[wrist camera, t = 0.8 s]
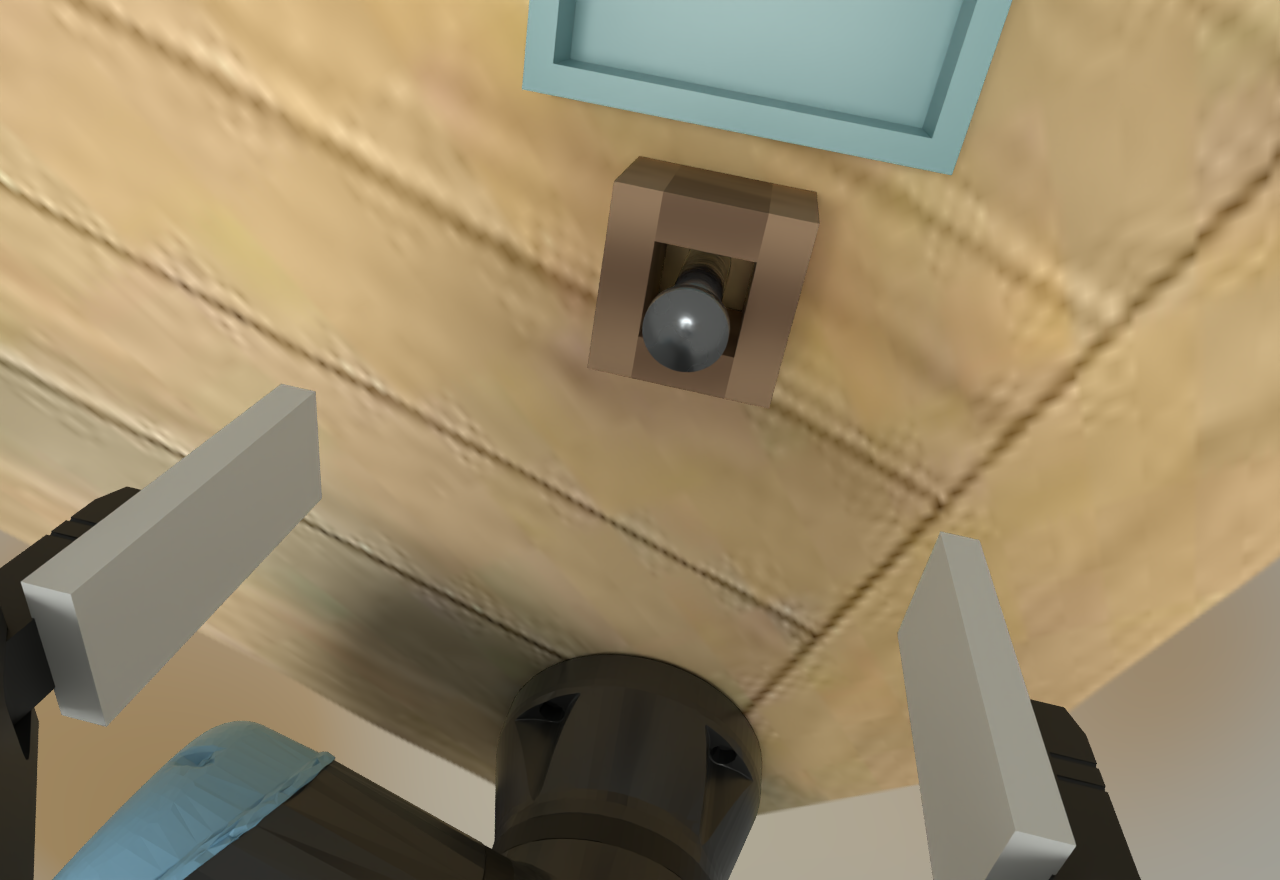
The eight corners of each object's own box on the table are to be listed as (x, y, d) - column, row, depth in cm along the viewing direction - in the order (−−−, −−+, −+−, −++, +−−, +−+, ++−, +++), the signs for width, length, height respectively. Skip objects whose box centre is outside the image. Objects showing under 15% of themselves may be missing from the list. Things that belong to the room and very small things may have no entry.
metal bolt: (735, 300, 34) (718, 380, 27) (669, 286, 34) (636, 362, 27) (750, 234, 32) (737, 300, 25) (681, 220, 33) (649, 281, 26)
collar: (772, 357, 35) (768, 408, 30) (613, 322, 35) (587, 368, 31) (816, 192, 31) (819, 223, 27) (638, 156, 32) (614, 181, 27)
